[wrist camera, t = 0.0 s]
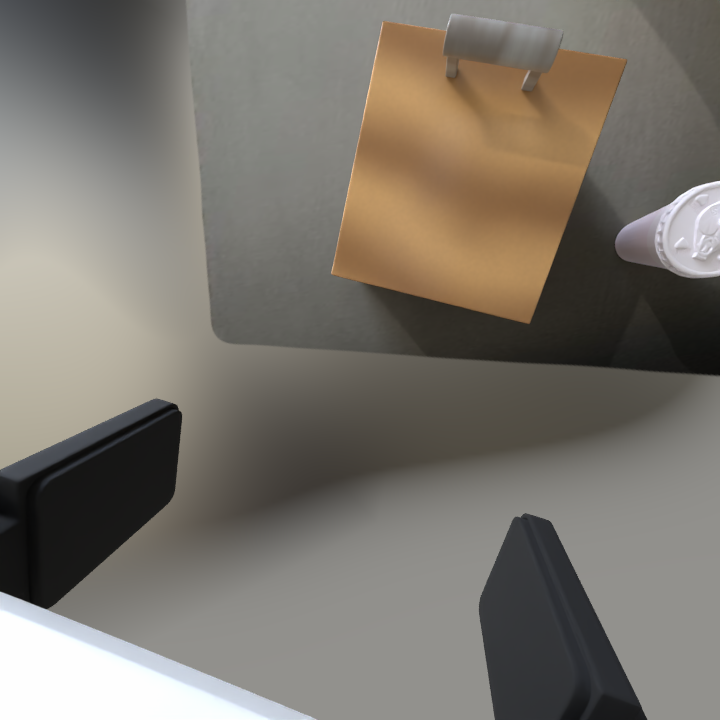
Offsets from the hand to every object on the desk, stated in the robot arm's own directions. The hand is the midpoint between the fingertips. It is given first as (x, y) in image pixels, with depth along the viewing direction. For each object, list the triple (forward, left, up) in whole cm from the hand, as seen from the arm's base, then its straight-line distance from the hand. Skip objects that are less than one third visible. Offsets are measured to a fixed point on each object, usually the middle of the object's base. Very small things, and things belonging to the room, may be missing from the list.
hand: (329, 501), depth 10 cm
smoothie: (-22, +6, -31) cm, 39 cm away
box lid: (-11, -7, -21) cm, 25 cm away
